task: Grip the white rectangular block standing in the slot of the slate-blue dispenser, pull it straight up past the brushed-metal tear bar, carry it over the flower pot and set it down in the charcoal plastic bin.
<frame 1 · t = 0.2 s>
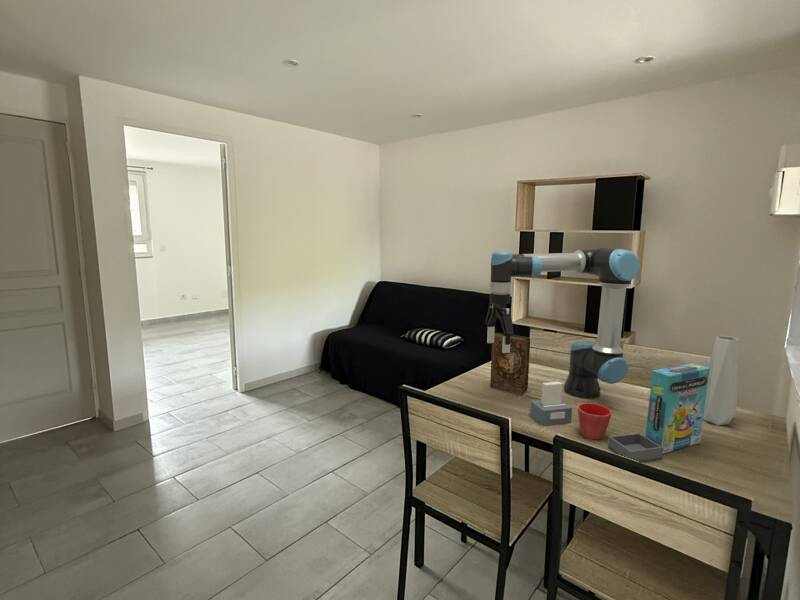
hand: (497, 347, 162), 28 cm above the table, fingers open, 13 cm apart
bin: (634, 453, 139), on the table
white rectangular block: (550, 412, 163), point 2 cm above the table, touching dispenser
dispenser: (550, 419, 164), on the table
vase: (713, 421, 163), on the table
flower pot: (592, 434, 152), on the table
book: (507, 389, 193), on the table
game box: (672, 445, 144), on the table
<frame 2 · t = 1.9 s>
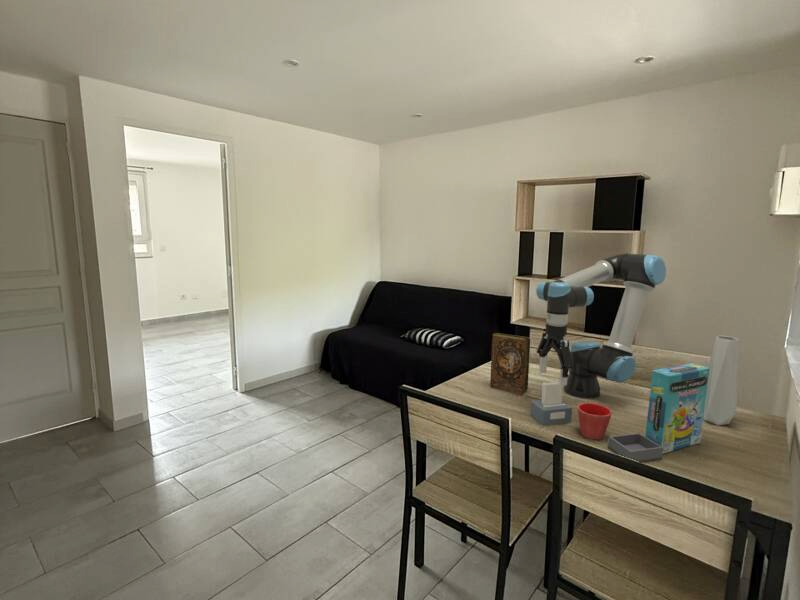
hand: (552, 378, 161), 16 cm above the table, fingers open, 13 cm apart
nothing on the table moved.
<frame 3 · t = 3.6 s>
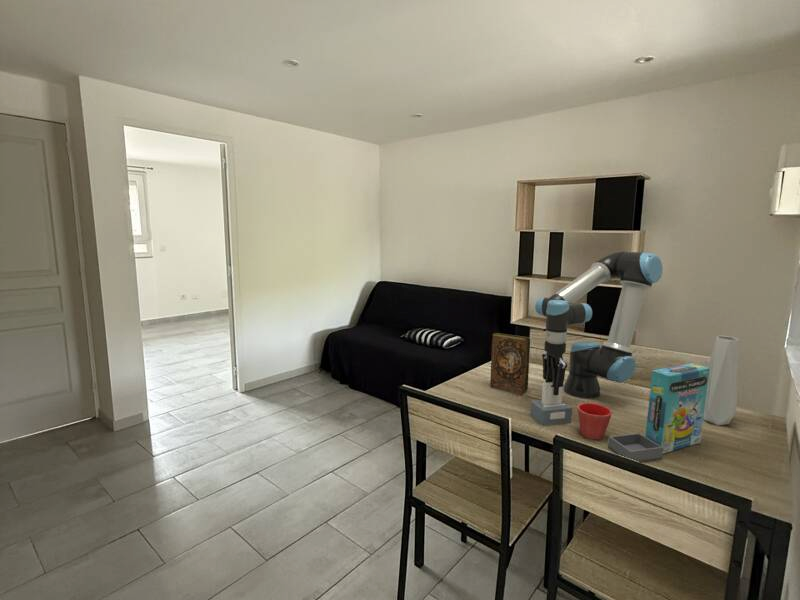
hand: (551, 400, 162), 8 cm above the table, fingers closed on white rectangular block, 2 cm apart
white rectangular block: (550, 412, 163), point 3 cm above the table, touching gripper
everything else where it was.
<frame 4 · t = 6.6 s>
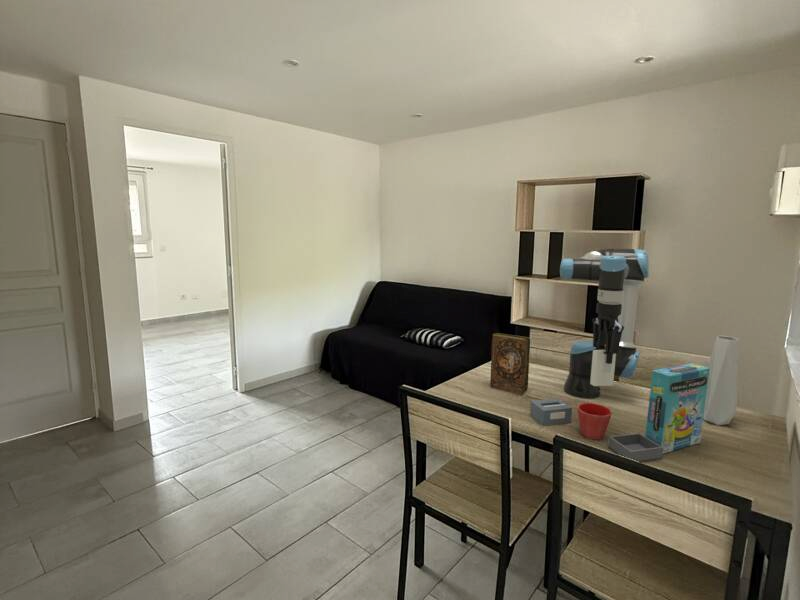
hand: (603, 370, 144), 25 cm above the table, fingers closed on white rectangular block, 2 cm apart
white rectangular block: (601, 384, 145), point 20 cm above the table, touching gripper
everything else where it was.
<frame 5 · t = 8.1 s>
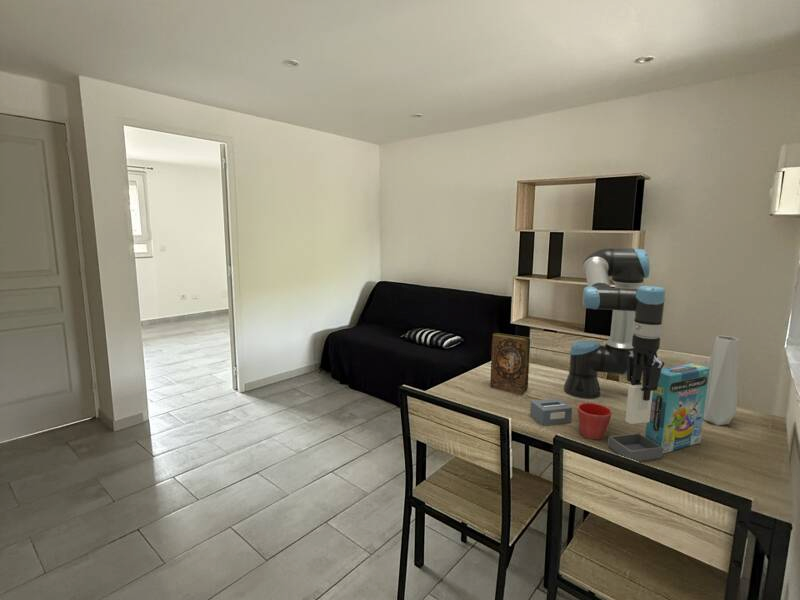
hand: (639, 406, 136), 16 cm above the table, fingers closed on white rectangular block, 2 cm apart
white rectangular block: (637, 421, 137), point 11 cm above the table, touching gripper
everything else where it was.
when the fingers open (6 cm above the table, at t = 9.6 s): white rectangular block stays where it is, resting on bin.
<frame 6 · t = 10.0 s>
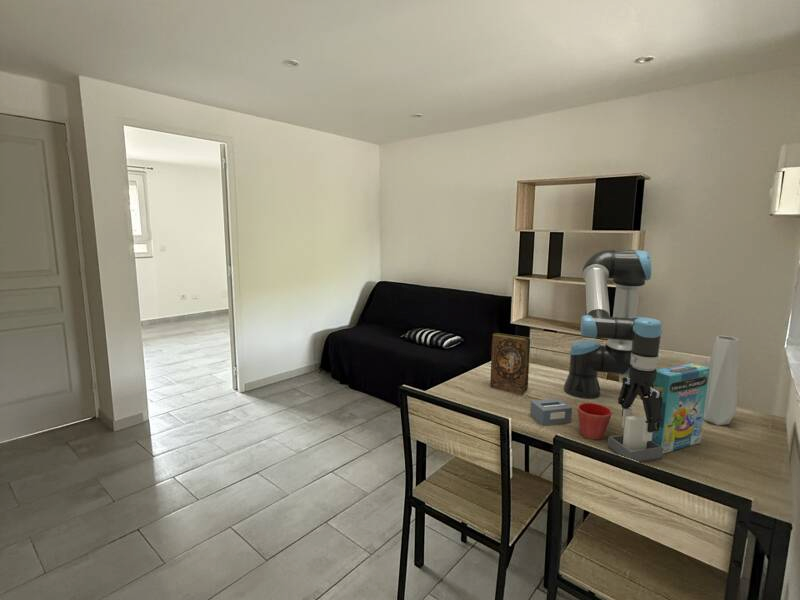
hand: (636, 433, 138), 7 cm above the table, fingers open, 8 cm apart
white rectangular block: (633, 451, 139), point 1 cm above the table, touching bin
everything else where it was.
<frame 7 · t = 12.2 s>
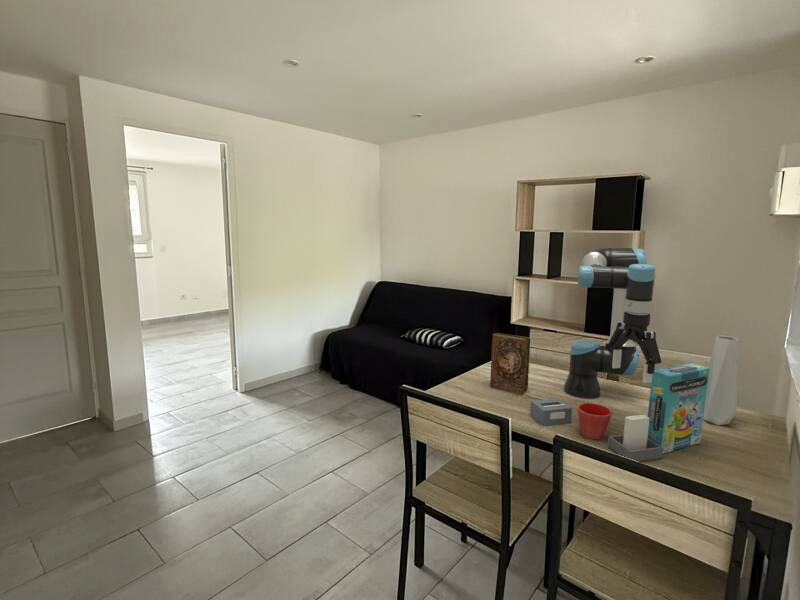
hand: (630, 374, 140), 25 cm above the table, fingers open, 13 cm apart
nothing on the table moved.
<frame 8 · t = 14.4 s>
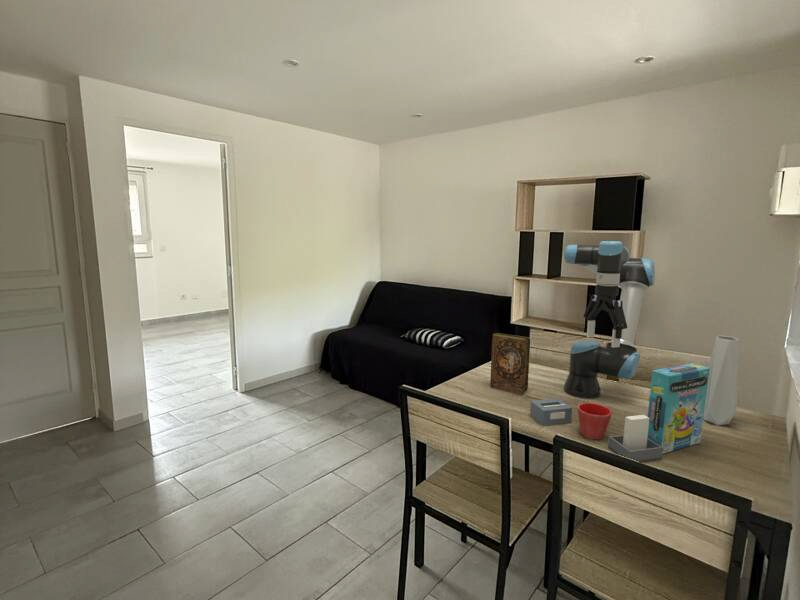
hand: (602, 342, 155), 32 cm above the table, fingers open, 13 cm apart
nothing on the table moved.
at the end: white rectangular block inside the target area on the bin (0.1 cm from its centre), point 0.6 cm above the bin's base; the gripper is holding nothing; white rectangular block moved 31.3 cm from its start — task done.
